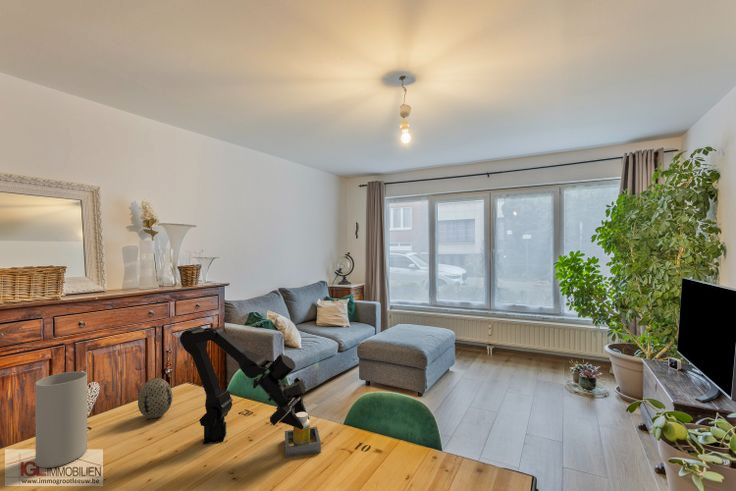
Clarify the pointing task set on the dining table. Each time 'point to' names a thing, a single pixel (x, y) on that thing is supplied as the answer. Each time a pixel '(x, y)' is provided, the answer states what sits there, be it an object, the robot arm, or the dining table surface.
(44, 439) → the cylinder vase
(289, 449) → the collar
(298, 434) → the supplement bottle
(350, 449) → the dining table surface
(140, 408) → the decorative egg
